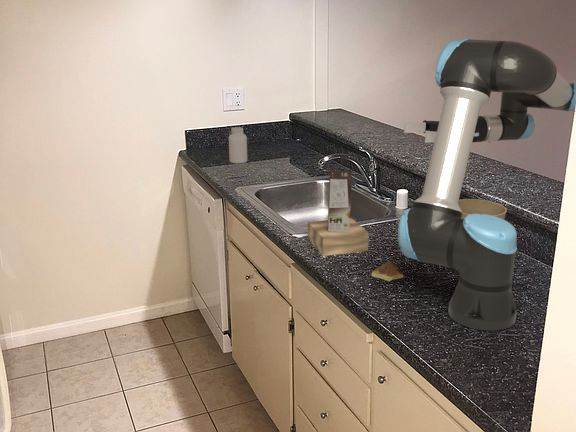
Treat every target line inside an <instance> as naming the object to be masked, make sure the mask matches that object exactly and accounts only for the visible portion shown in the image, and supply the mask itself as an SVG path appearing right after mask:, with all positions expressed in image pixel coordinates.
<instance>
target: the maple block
mask: <svg viewBox="0 0 576 432" xmlns="http://www.w3.org/2000/svg"><path fill="white" fill-rule="evenodd" d="M369 238H370V232H368V231H367V230H366V229H365V228H364V227H362V225H361V224H359V223H358V222H357V221H356V220H354V218H352V217H350V226H349V232H329V231H328V219H327V220H316V221H308V222H307V240H308V241H309V243H310V244H311V245H312V246H313V247H314V248H315V249H316V250H317V251H318V253H319V254H320V256H322V257H326V256H333V255H342V254H343V255H344V254H351V253H352V254H355V253H361V252H369V240H370V239H369Z"/></svg>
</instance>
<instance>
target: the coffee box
mask: <svg viewBox="0 0 576 432" xmlns="http://www.w3.org/2000/svg"><path fill="white" fill-rule="evenodd" d="M352 182H353V178H352V172H351V170H349V171H348V170H330V171H329V181H328V183H329V184H328V203H327V204H328V205H327V209H328V210H327V220H328V231H329V232H349V226H350V218H351V209H352V208H351V207H352V205H351V204H352V188H353V187H352V186H353V184H352Z"/></svg>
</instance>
